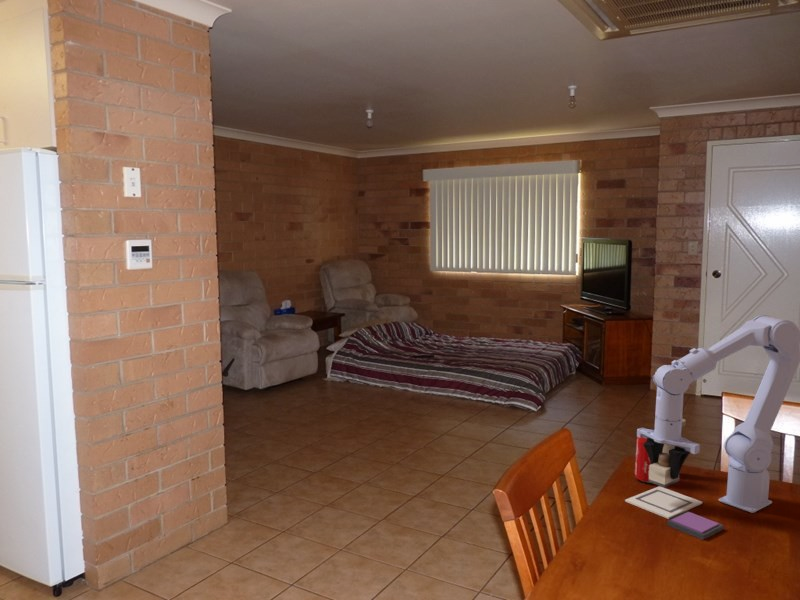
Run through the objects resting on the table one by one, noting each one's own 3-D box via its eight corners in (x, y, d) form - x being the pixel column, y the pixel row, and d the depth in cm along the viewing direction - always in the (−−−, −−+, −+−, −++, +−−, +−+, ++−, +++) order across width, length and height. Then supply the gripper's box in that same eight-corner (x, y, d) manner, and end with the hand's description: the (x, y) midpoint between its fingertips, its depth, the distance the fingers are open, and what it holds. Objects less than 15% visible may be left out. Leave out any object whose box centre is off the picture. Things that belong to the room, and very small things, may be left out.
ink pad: (687, 515, 142) (687, 510, 141) (722, 529, 135) (723, 523, 135) (666, 525, 137) (667, 519, 137) (702, 540, 130) (703, 534, 130)
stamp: (663, 475, 151) (664, 449, 150) (678, 481, 148) (680, 454, 147) (648, 481, 147) (649, 455, 147) (664, 487, 144) (666, 460, 143)
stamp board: (659, 487, 157) (659, 485, 157) (702, 503, 148) (702, 501, 148) (624, 501, 149) (625, 499, 149) (668, 518, 140) (668, 516, 140)
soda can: (648, 486, 157) (651, 439, 156) (629, 477, 163) (631, 432, 162) (666, 482, 160) (668, 436, 159) (646, 473, 166) (648, 429, 164)
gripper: (630, 413, 150) (627, 468, 151) (689, 429, 138) (685, 489, 139) (647, 408, 154) (644, 462, 155) (706, 423, 142) (702, 482, 143)
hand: (665, 474), depth 148 cm, fingers closed on stamp, 4 cm apart
